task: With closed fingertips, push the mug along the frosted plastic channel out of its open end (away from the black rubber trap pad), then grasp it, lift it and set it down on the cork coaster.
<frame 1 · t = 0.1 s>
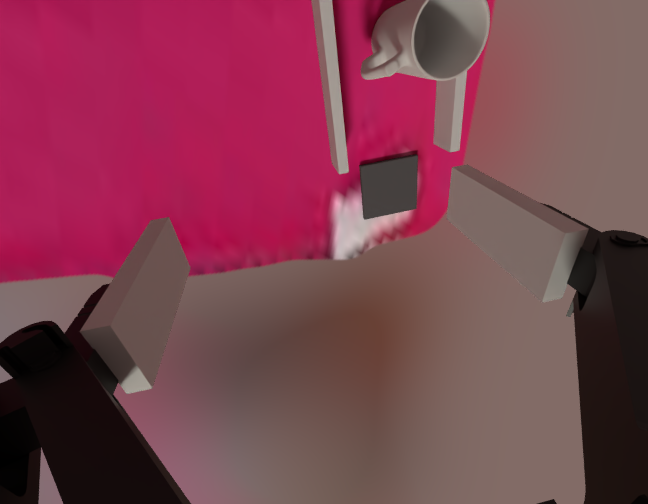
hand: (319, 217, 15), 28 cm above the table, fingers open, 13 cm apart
trap pad: (388, 187, 46), on the table
channel: (384, 37, 36), on the table
mug: (384, 47, 37), on the table
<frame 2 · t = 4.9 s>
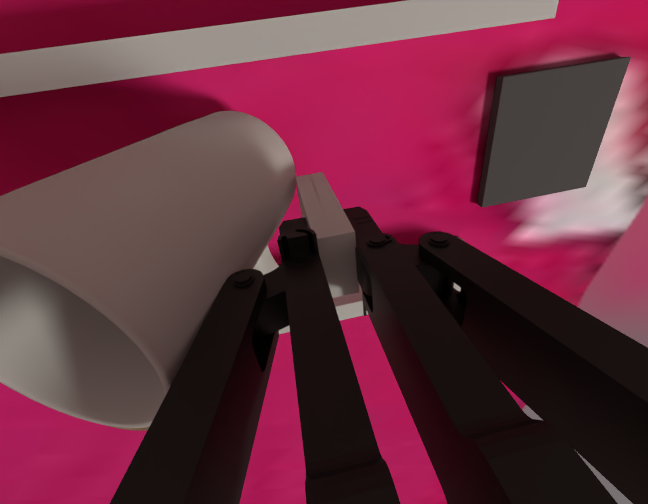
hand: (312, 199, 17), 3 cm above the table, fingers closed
trap pad: (542, 136, 21), on the table
channel: (269, 186, 19), on the table
mug: (259, 195, 18), point 1 cm above the table, touching gripper, hand
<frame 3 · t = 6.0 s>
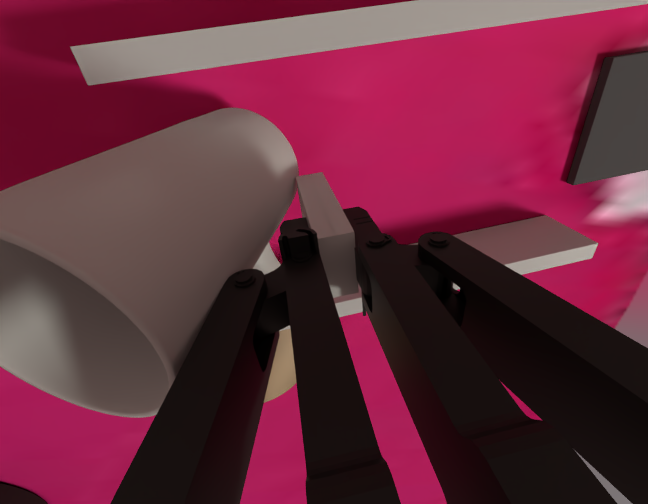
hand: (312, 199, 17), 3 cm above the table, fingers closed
coaster: (241, 360, 27), on the table
trap pad: (635, 116, 22), on the table
channel: (386, 163, 20), on the table
mug: (262, 192, 18), point 1 cm above the table, touching gripper, hand
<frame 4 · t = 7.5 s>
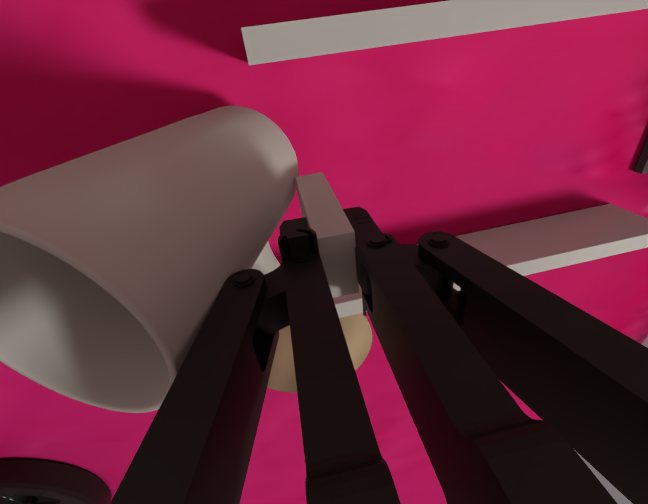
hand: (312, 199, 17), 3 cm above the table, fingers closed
coaster: (308, 345, 27), on the table
channel: (471, 149, 21), on the table
mug: (261, 190, 18), point 1 cm above the table, touching gripper, hand
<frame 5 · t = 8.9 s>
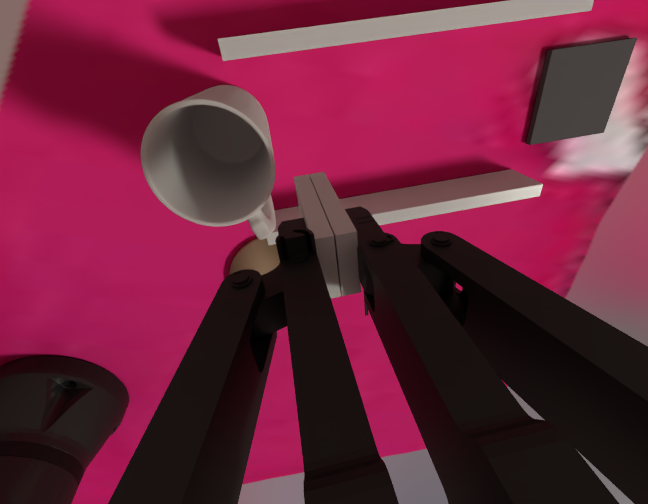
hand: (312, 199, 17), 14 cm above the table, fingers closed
coaster: (280, 275, 36), on the table
trap pad: (574, 94, 30), on the table
channel: (392, 122, 29), on the table
mug: (241, 143, 28), on the table
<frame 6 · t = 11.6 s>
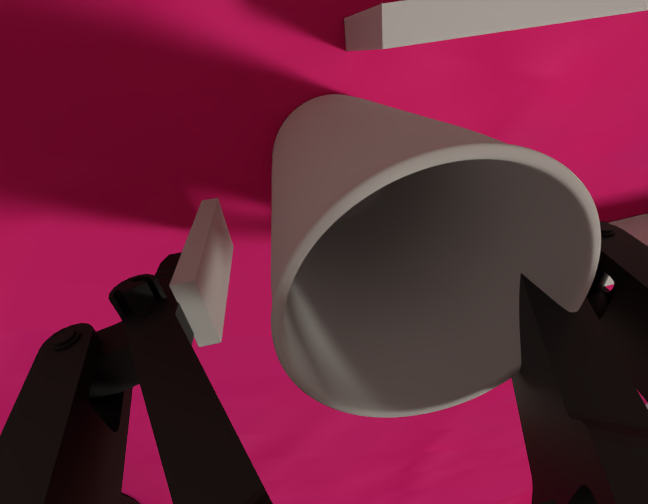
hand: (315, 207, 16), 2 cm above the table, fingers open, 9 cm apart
channel: (562, 147, 19), on the table
mug: (344, 185, 18), on the table, touching gripper
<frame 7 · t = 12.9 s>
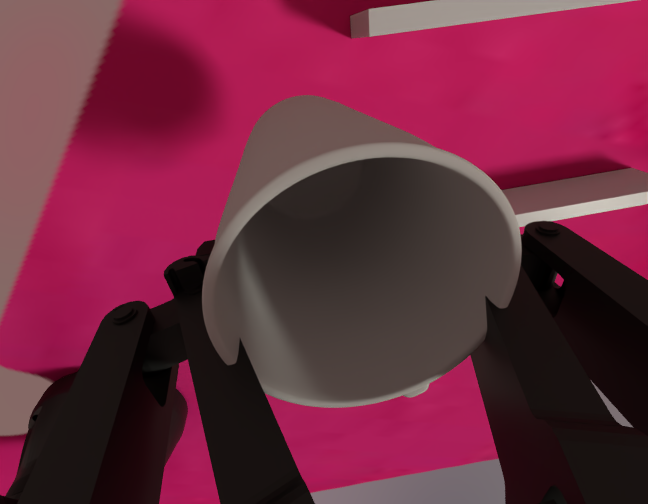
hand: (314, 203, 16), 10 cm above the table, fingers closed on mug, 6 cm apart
channel: (515, 114, 25), on the table
mug: (319, 184, 18), point 8 cm above the table, touching gripper
when the fingers open (2 cm above the table, at t = 16.7 s): mug stays where it is, resting on coaster.
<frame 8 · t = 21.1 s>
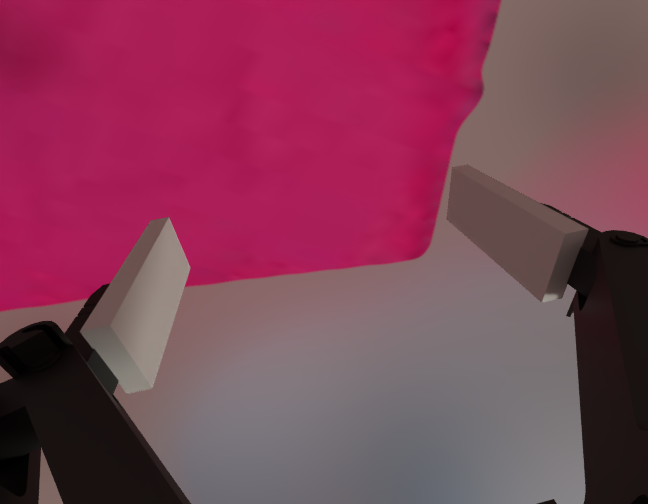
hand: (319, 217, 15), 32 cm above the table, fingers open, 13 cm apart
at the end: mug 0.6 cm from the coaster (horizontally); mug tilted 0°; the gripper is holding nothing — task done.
